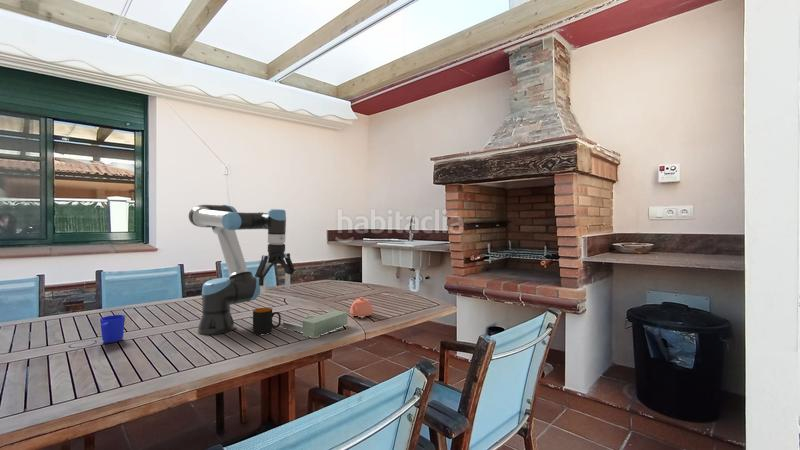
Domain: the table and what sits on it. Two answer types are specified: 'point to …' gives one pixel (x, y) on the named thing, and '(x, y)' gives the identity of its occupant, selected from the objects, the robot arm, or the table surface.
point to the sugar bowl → (361, 307)
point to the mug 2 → (263, 321)
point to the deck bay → (319, 323)
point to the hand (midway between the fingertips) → (275, 290)
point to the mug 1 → (112, 328)
